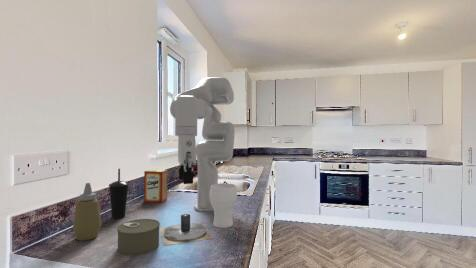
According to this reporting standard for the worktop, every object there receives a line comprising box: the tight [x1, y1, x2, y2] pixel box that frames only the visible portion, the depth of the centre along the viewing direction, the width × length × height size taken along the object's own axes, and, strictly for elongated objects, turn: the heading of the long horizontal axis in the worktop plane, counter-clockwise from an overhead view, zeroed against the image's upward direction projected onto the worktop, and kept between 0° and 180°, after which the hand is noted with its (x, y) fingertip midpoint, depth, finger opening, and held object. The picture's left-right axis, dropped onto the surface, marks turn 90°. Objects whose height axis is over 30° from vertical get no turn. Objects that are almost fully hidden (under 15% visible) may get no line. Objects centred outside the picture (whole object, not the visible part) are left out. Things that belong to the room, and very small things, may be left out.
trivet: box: [159, 222, 215, 247], centre depth 88 cm, size 16×16×1 cm
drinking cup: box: [108, 168, 130, 219], centre depth 105 cm, size 8×8×20 cm
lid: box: [164, 213, 207, 241], centre depth 88 cm, size 14×14×6 cm
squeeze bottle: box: [72, 182, 102, 242], centre depth 84 cm, size 8×8×18 cm
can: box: [116, 218, 161, 257], centre depth 77 cm, size 12×12×7 cm
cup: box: [210, 182, 238, 229], centre depth 97 cm, size 11×11×15 cm
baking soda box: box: [143, 168, 168, 204], centre depth 132 cm, size 10×6×16 cm
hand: (185, 181), depth 88 cm, fingers open, 9 cm apart
